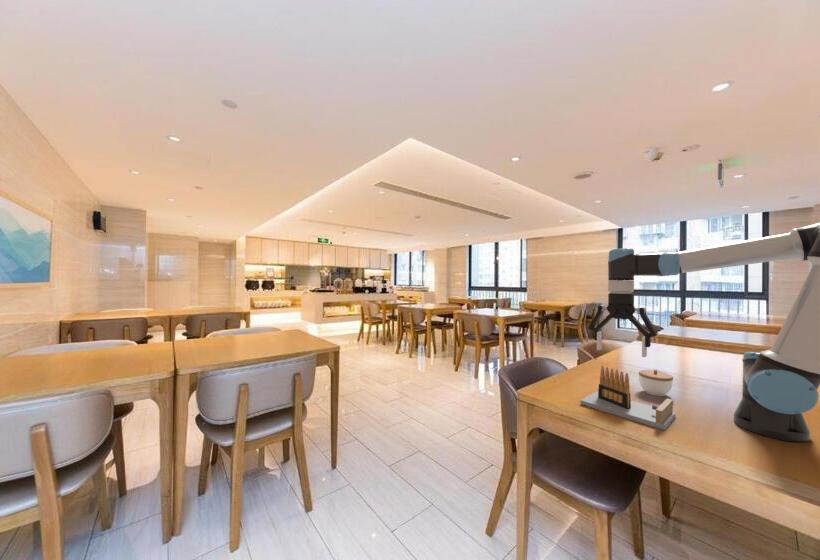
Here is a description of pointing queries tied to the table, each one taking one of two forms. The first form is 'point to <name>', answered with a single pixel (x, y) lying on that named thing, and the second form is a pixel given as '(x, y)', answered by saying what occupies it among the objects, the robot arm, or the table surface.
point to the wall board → (636, 411)
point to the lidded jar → (655, 382)
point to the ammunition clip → (614, 388)
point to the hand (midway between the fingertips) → (620, 353)
